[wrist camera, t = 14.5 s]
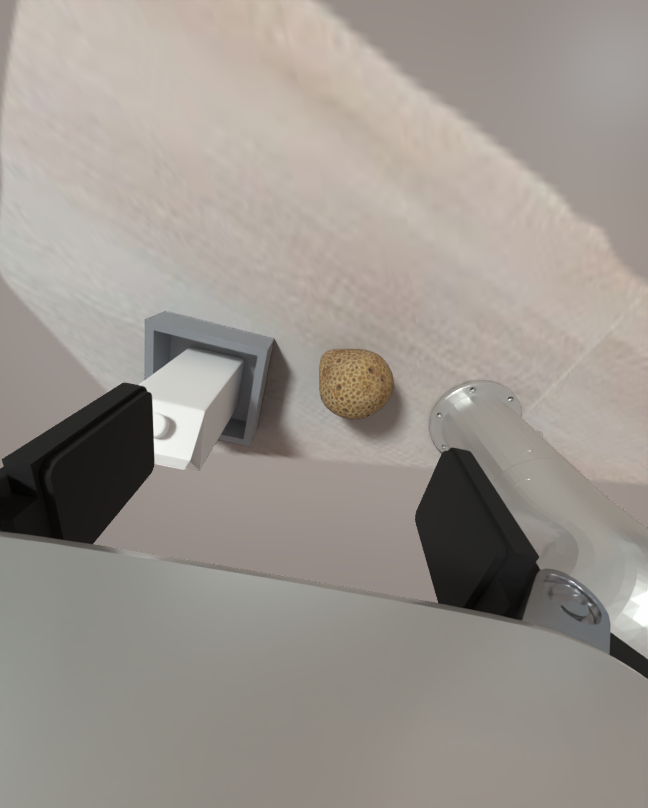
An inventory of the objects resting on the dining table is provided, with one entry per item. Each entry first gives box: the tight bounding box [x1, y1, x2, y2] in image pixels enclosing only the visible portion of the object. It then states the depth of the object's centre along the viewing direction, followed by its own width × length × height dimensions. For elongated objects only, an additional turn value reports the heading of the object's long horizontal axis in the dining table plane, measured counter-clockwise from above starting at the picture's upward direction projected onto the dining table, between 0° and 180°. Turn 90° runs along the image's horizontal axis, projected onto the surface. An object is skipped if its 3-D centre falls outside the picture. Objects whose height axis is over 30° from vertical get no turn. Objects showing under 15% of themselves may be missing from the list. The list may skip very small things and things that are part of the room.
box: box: [145, 311, 274, 447], centre depth 42 cm, size 14×14×5 cm
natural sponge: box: [319, 349, 394, 419], centre depth 39 cm, size 9×9×10 cm
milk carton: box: [139, 347, 244, 471], centre depth 36 cm, size 7×7×19 cm
